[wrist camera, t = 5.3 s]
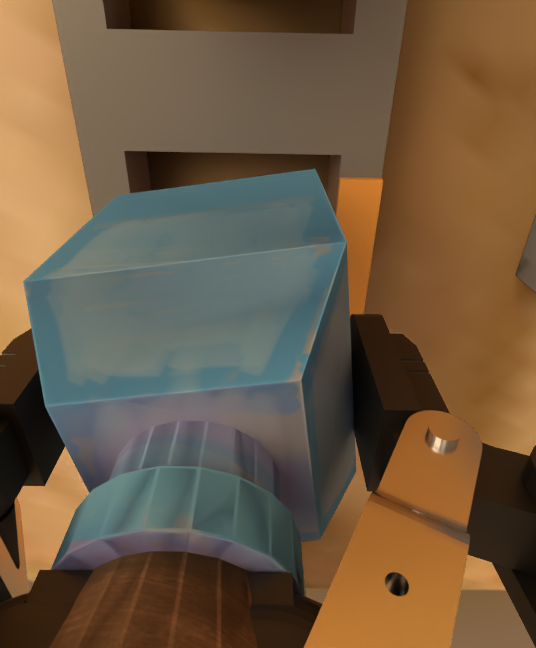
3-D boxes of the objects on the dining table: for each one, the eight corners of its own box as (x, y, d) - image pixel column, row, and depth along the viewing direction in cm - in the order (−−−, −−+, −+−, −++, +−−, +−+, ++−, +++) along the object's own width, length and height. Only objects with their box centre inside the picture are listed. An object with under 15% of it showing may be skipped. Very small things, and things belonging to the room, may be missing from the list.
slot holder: (25, -388, 11) (-57, -535, 9) (433, -377, 11) (487, -518, 9) (137, 327, 22) (118, 366, 20) (344, 330, 23) (355, 370, 20)
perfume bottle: (117, 195, 14) (-322, 597, 4) (315, 168, 13) (473, 535, 3) (166, 356, 17) (11, 815, 7) (327, 338, 17) (426, 798, 6)
